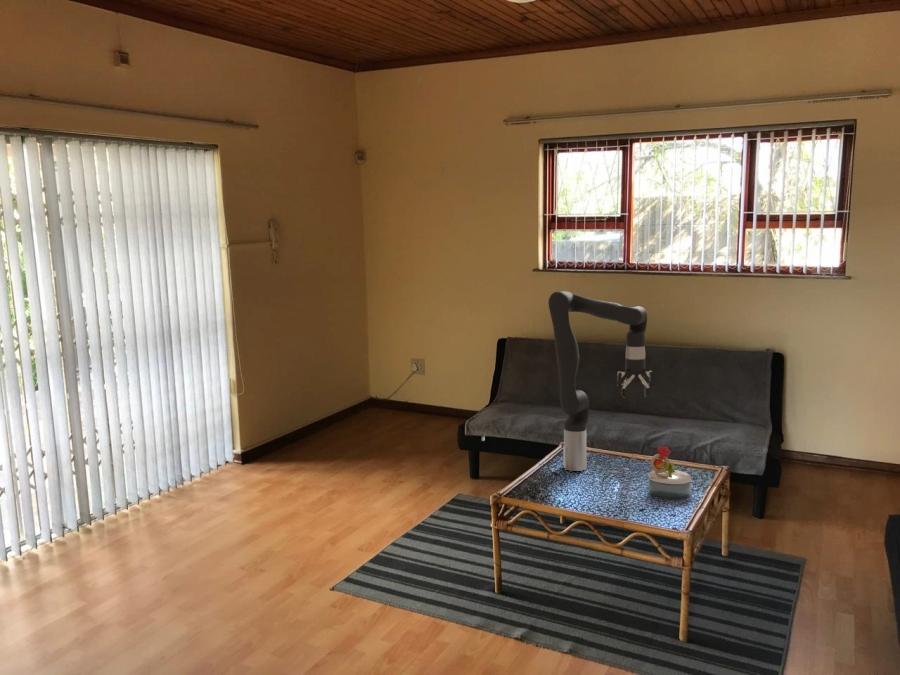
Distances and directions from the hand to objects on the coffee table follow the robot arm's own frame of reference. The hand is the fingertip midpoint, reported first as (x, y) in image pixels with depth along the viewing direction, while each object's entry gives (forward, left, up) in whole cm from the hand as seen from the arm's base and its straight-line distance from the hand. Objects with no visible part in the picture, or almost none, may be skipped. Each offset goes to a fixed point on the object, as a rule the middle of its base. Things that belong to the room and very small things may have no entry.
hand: (635, 397), depth 287 cm
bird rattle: (+7, -16, -26) cm, 32 cm away
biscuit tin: (+9, -19, -33) cm, 39 cm away
